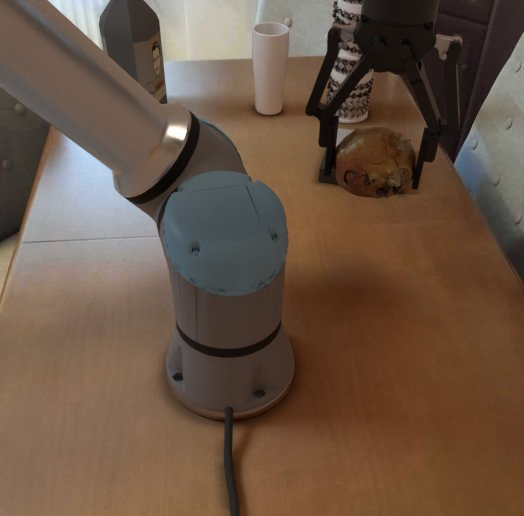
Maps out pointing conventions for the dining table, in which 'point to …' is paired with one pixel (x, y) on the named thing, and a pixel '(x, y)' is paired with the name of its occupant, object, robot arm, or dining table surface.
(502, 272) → the dining table surface
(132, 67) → the liquor
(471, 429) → the dining table surface
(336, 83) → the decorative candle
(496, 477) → the dining table surface
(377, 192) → the bread roll
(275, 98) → the drinking glass
